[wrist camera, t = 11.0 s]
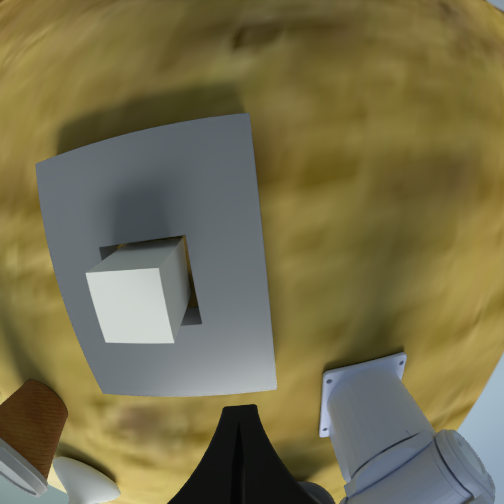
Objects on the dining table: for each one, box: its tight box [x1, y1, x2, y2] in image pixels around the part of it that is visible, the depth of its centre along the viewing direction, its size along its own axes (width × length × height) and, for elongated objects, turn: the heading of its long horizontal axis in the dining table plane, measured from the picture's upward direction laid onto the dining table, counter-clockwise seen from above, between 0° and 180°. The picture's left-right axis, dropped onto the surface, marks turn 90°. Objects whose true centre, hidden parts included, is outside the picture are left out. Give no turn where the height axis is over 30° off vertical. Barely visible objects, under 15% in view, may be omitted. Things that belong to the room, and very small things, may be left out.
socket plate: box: [36, 113, 277, 397], centre depth 17 cm, size 18×14×2 cm
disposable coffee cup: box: [0, 380, 68, 497], centre depth 16 cm, size 10×10×12 cm
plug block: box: [86, 238, 191, 343], centre depth 15 cm, size 4×4×6 cm
